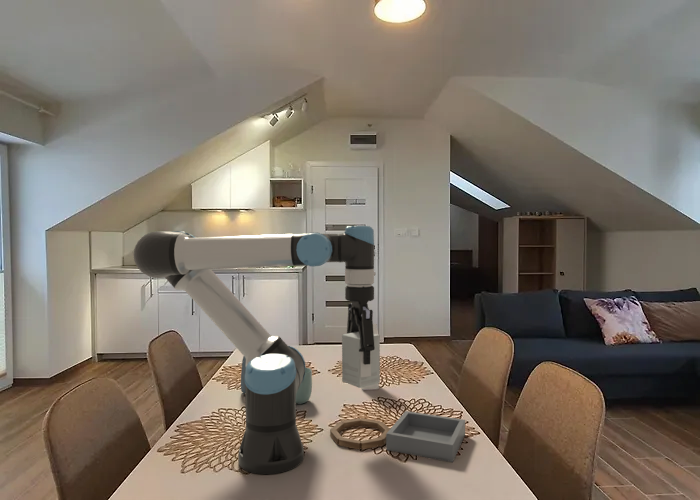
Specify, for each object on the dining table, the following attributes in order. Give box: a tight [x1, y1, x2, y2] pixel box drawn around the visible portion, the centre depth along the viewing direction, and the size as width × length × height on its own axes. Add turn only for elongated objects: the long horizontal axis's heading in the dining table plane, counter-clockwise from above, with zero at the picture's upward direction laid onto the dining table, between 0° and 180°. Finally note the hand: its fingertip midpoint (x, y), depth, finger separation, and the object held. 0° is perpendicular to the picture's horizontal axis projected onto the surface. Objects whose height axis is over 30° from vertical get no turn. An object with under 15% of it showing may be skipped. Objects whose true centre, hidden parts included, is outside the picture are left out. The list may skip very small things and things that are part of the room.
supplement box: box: [341, 332, 381, 389], centre depth 122 cm, size 7×7×13 cm
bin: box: [385, 410, 466, 463], centre depth 118 cm, size 16×16×4 cm
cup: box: [296, 367, 313, 405], centre depth 148 cm, size 8×8×10 cm
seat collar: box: [329, 417, 391, 450], centre depth 122 cm, size 15×15×2 cm
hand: (359, 371), depth 122 cm, fingers closed on supplement box, 9 cm apart
